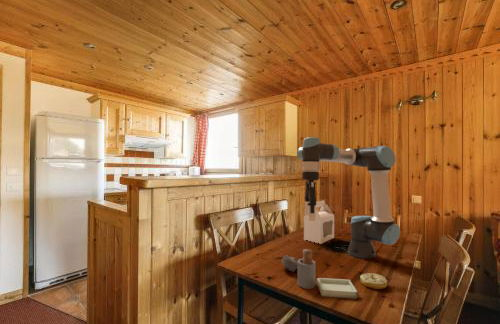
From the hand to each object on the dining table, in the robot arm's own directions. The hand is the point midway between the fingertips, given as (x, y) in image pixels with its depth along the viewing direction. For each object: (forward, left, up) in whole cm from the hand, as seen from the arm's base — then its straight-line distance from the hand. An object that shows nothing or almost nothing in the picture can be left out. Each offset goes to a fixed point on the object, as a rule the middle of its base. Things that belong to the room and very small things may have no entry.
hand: (309, 217), depth 111 cm
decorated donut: (-28, -2, -30) cm, 41 cm away
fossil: (+8, -12, -29) cm, 33 cm away
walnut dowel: (+2, +2, -28) cm, 28 cm away
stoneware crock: (+2, +2, -29) cm, 29 cm away
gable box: (-16, -72, -30) cm, 80 cm away
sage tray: (-10, +6, -29) cm, 31 cm away
